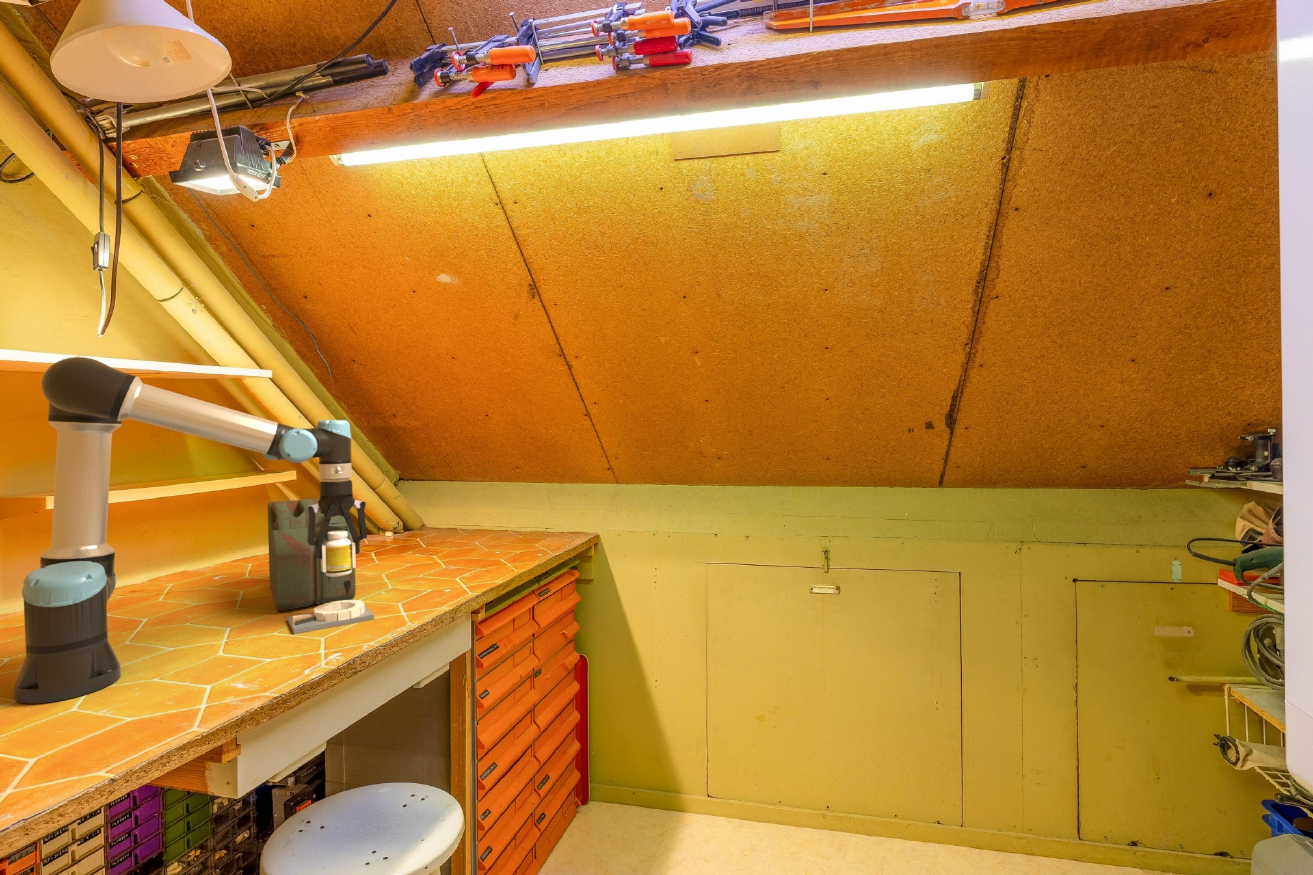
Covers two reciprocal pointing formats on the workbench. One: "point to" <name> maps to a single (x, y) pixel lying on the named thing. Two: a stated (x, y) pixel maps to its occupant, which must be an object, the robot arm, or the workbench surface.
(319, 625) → the junction plate
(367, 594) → the workbench surface
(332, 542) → the pill bottle
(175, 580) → the workbench surface
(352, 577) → the fuel can
